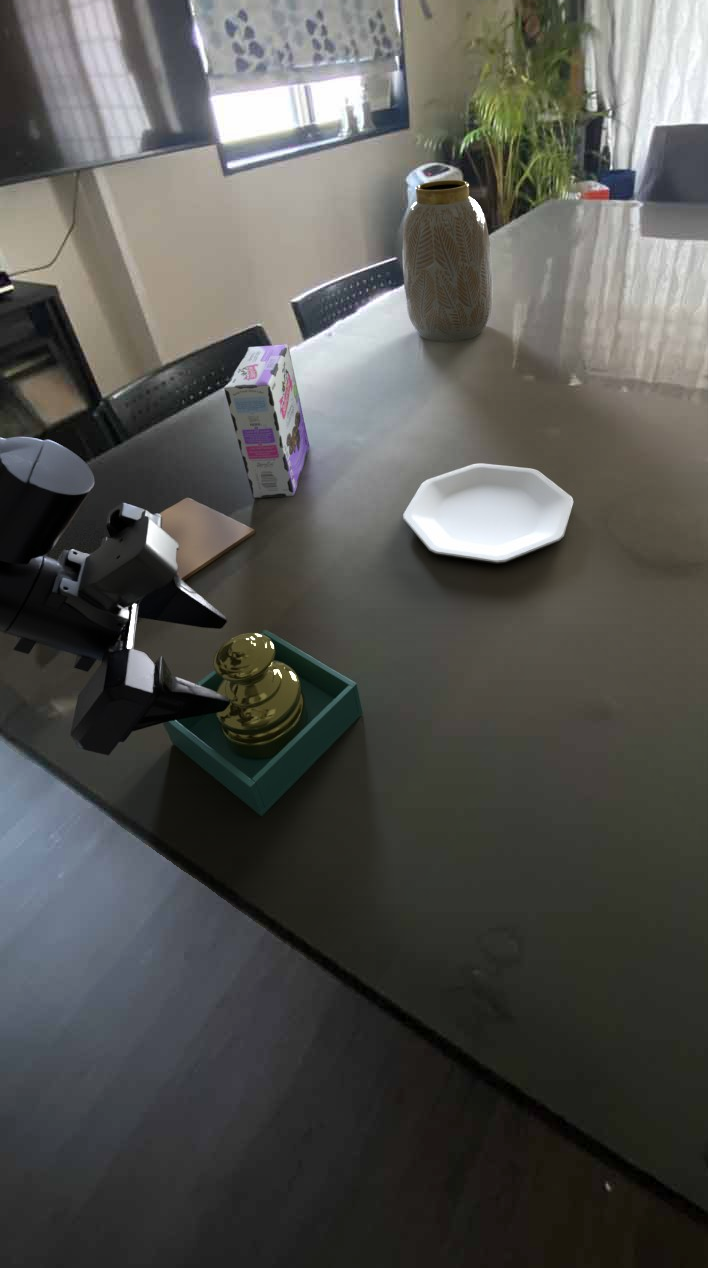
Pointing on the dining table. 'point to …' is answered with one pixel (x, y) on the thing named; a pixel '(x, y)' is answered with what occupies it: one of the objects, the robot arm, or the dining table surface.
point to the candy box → (268, 420)
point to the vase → (447, 263)
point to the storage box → (271, 777)
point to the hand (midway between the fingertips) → (225, 661)
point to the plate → (489, 513)
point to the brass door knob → (258, 697)
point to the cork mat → (200, 534)
